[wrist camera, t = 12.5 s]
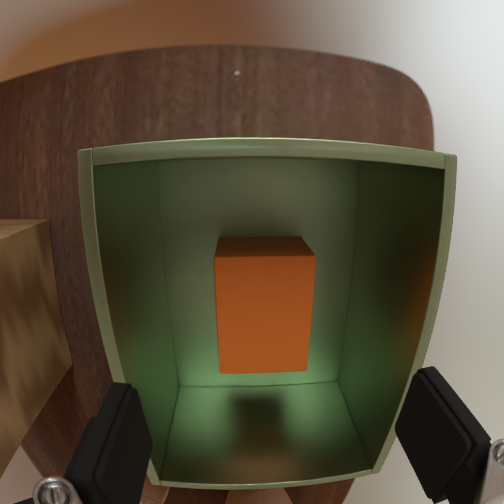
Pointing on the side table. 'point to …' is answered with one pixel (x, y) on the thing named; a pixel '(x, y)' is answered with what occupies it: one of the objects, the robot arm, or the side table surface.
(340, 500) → the side table surface
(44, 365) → the wood grain block
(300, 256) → the block
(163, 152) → the trash bin
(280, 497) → the potted plant
